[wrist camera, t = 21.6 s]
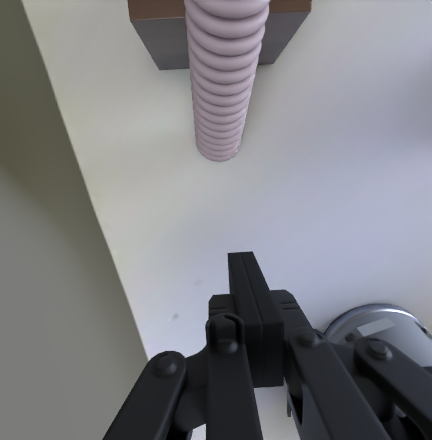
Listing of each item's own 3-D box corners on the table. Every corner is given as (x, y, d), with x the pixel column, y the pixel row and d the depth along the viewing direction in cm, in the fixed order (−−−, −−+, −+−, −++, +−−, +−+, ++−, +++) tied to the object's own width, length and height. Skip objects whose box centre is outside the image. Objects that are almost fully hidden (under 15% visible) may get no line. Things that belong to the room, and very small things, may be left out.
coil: (243, 161, 26) (308, -80, 9) (200, 168, 26) (182, -70, 9) (234, 125, 28) (278, -150, 10) (193, 130, 27) (166, -145, 10)
